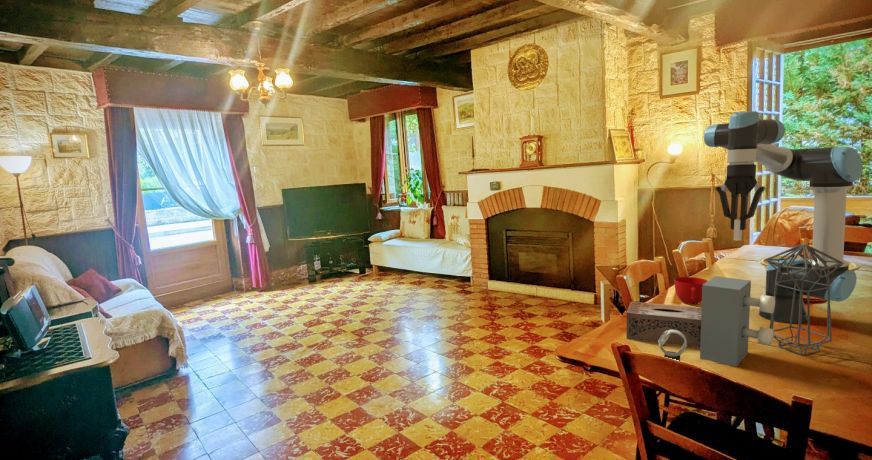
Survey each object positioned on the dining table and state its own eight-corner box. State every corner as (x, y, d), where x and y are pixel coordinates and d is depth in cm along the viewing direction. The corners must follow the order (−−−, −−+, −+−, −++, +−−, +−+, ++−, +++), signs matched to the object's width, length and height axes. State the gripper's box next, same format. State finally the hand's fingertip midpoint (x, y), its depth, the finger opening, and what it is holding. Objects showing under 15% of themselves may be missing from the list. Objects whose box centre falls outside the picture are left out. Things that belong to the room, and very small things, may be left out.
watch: (658, 359, 150) (658, 326, 149) (686, 363, 146) (687, 329, 145) (656, 366, 145) (657, 332, 144) (686, 370, 142) (687, 335, 140)
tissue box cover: (626, 339, 168) (626, 312, 167) (630, 326, 181) (630, 301, 180) (709, 349, 156) (710, 320, 155) (707, 334, 169) (708, 308, 168)
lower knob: (773, 342, 143) (773, 326, 142) (769, 347, 139) (770, 331, 139) (738, 336, 149) (739, 321, 149) (734, 340, 146) (735, 325, 145)
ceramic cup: (676, 308, 199) (676, 285, 198) (672, 297, 215) (673, 276, 213) (711, 310, 194) (712, 287, 193) (705, 299, 210) (705, 277, 209)
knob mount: (747, 352, 152) (750, 280, 149) (736, 366, 142) (739, 289, 139) (713, 345, 159) (715, 276, 156) (699, 358, 149) (702, 285, 146)
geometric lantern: (841, 354, 148) (849, 245, 142) (804, 363, 143) (811, 251, 138) (791, 337, 163) (796, 237, 157) (756, 344, 158) (760, 243, 153)
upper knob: (774, 311, 141) (775, 294, 141) (771, 315, 138) (772, 298, 137) (740, 305, 148) (740, 290, 147) (735, 309, 144) (736, 293, 144)
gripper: (770, 163, 141) (765, 240, 144) (721, 164, 150) (717, 237, 153) (763, 163, 136) (758, 243, 139) (713, 164, 145) (710, 239, 148)
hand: (737, 240), depth 146 cm, fingers closed
